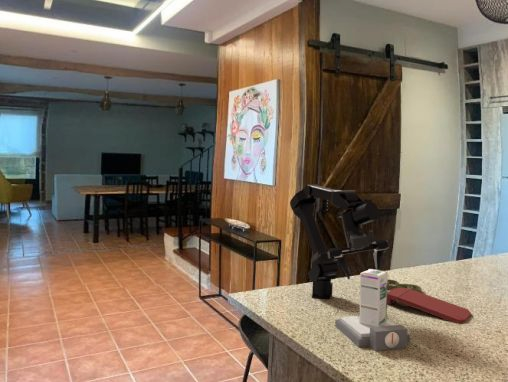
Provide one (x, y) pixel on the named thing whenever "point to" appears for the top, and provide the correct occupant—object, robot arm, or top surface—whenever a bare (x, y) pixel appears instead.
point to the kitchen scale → (374, 334)
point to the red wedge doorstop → (429, 304)
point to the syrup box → (373, 297)
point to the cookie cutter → (403, 286)
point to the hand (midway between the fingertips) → (363, 276)
